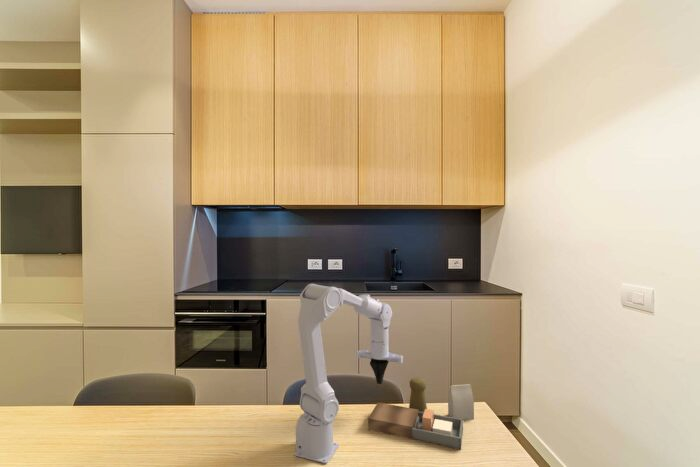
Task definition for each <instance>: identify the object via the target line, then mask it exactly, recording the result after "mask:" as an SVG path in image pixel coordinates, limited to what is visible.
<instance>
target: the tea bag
mask: <svg viewBox="0 0 700 467" xmlns="http://www.w3.org/2000/svg"><path fill="white" fill-rule="evenodd" d="M474 401H475V400H474V393H473V390H472V384H470V383H469V384H466V383H465V384H454V385H450V386H449V390H448V395H447V407H448V408H447V412H448V417H453V418H458V419H463V421H469V420H470V421H471V420H474V419H475V402H474Z"/></svg>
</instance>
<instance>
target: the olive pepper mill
mask: <svg viewBox="0 0 700 467" xmlns="http://www.w3.org/2000/svg"><path fill="white" fill-rule="evenodd" d="M409 388H410V390H411V391H410V397H409V405H408V408H412V409H418V410H419V411H420V412H424V411H425V409H428V407H427V399H426V393H425V391H426V388H427V382H426V381H425V379H424V378H422V377H416V376H415V377H411V379H410V381H409Z"/></svg>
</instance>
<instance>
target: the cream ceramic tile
mask: <svg viewBox="0 0 700 467" xmlns="http://www.w3.org/2000/svg"><path fill="white" fill-rule="evenodd" d="M452 431H453V422H449V421H443V420H438V419H435V420H434V424H433V432H436V433H441V434H446V435H451V436H452Z"/></svg>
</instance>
